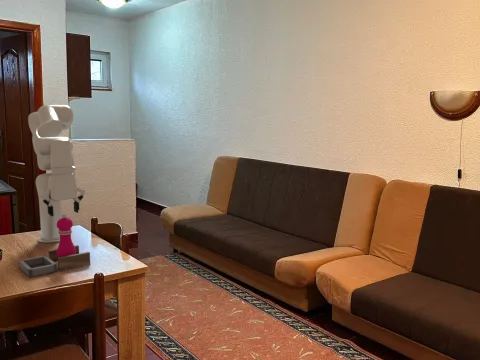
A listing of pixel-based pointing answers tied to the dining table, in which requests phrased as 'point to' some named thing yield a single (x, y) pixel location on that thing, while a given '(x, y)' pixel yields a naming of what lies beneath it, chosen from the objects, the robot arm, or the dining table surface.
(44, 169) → the robot arm
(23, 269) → the tray
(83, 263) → the walled lane
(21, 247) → the dining table surface
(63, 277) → the dining table surface
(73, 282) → the dining table surface
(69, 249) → the pepper mill
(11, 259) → the dining table surface
